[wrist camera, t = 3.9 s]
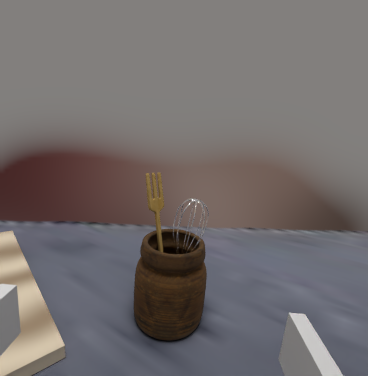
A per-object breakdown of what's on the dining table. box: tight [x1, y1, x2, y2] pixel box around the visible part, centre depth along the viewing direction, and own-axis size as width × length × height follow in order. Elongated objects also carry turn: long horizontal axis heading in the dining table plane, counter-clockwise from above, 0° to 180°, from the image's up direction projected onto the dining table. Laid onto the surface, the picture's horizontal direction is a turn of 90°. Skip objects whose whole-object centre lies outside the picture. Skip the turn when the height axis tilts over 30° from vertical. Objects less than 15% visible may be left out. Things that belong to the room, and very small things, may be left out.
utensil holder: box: [134, 173, 209, 340], centre depth 19 cm, size 6×6×12 cm
